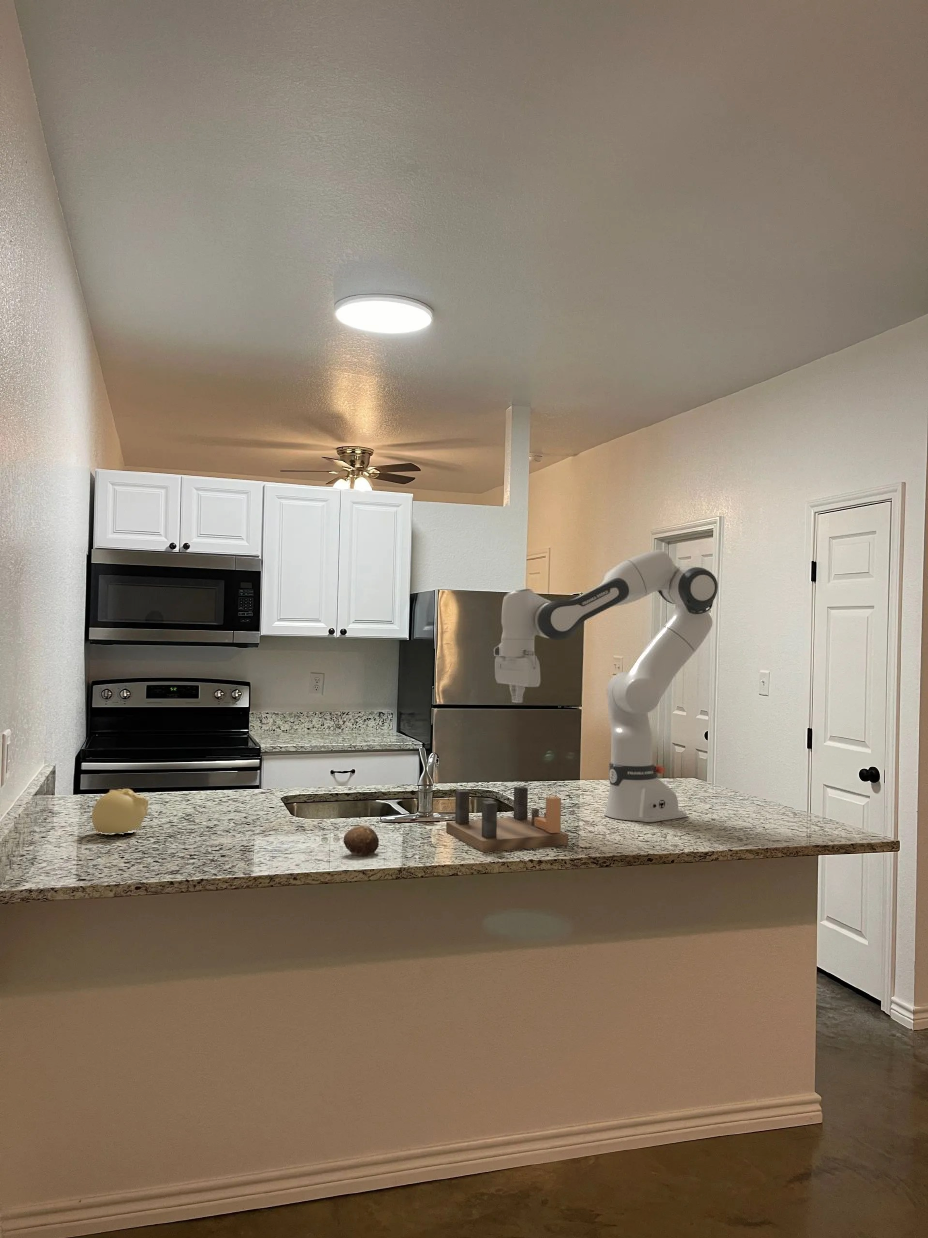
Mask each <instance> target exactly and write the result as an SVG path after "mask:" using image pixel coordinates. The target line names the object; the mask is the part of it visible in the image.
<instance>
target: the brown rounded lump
mask: <svg viewBox="0 0 928 1238" xmlns="http://www.w3.org/2000/svg"><path fill="white" fill-rule="evenodd" d="M342 842H343V844H344V846H345V848H346V849H347V851H349V852H350V853H351V854H353V855H355V856H360V857H366V856H369V855H373V854H374V853H375V852H376V851H377V850H378V848H379V846H380V845H379V844H380V843H379V842H380V839H379V837H378V834H377V833H376V832H375V831H374V829H372V828H371V827H370V826H366V825H359V826H355V827H352V828H351V829H349V830H348V831H346V833H345V834H344V835H343V841H342Z"/></svg>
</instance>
